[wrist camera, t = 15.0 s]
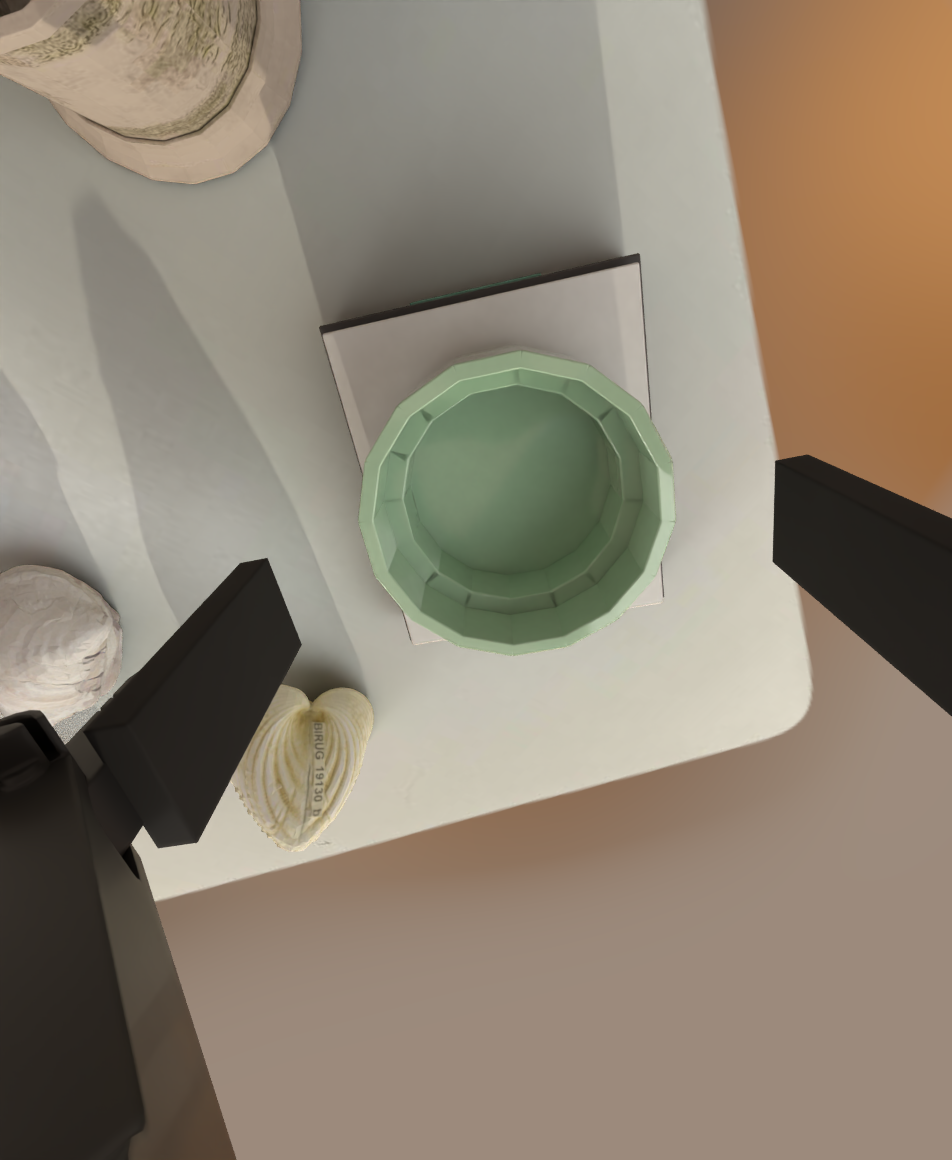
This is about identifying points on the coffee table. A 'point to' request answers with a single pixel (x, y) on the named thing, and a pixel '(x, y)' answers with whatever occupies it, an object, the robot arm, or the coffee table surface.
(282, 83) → the mug
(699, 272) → the coffee table surface
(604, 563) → the bowl
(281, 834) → the seashell
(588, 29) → the coffee table surface
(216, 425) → the coffee table surface
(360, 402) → the kitchen scale
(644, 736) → the coffee table surface
